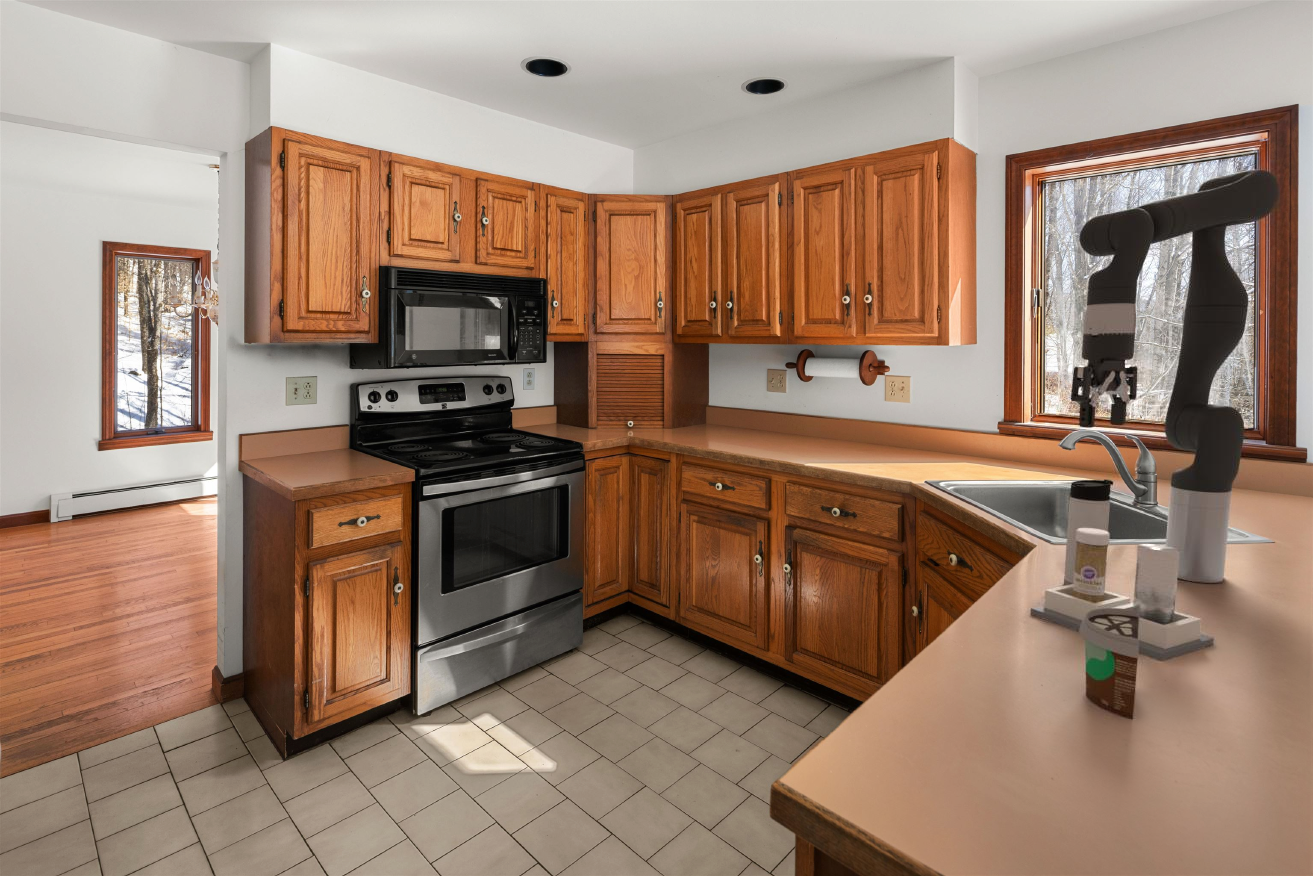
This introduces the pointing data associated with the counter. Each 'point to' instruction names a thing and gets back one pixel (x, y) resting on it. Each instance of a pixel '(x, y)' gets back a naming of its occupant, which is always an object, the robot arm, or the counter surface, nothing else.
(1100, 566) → the sprinkles bottle
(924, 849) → the counter surface
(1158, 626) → the grey and white holder
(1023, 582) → the counter surface
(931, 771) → the counter surface
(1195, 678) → the counter surface
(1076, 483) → the travel mug
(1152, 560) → the cylinder
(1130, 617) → the food container
